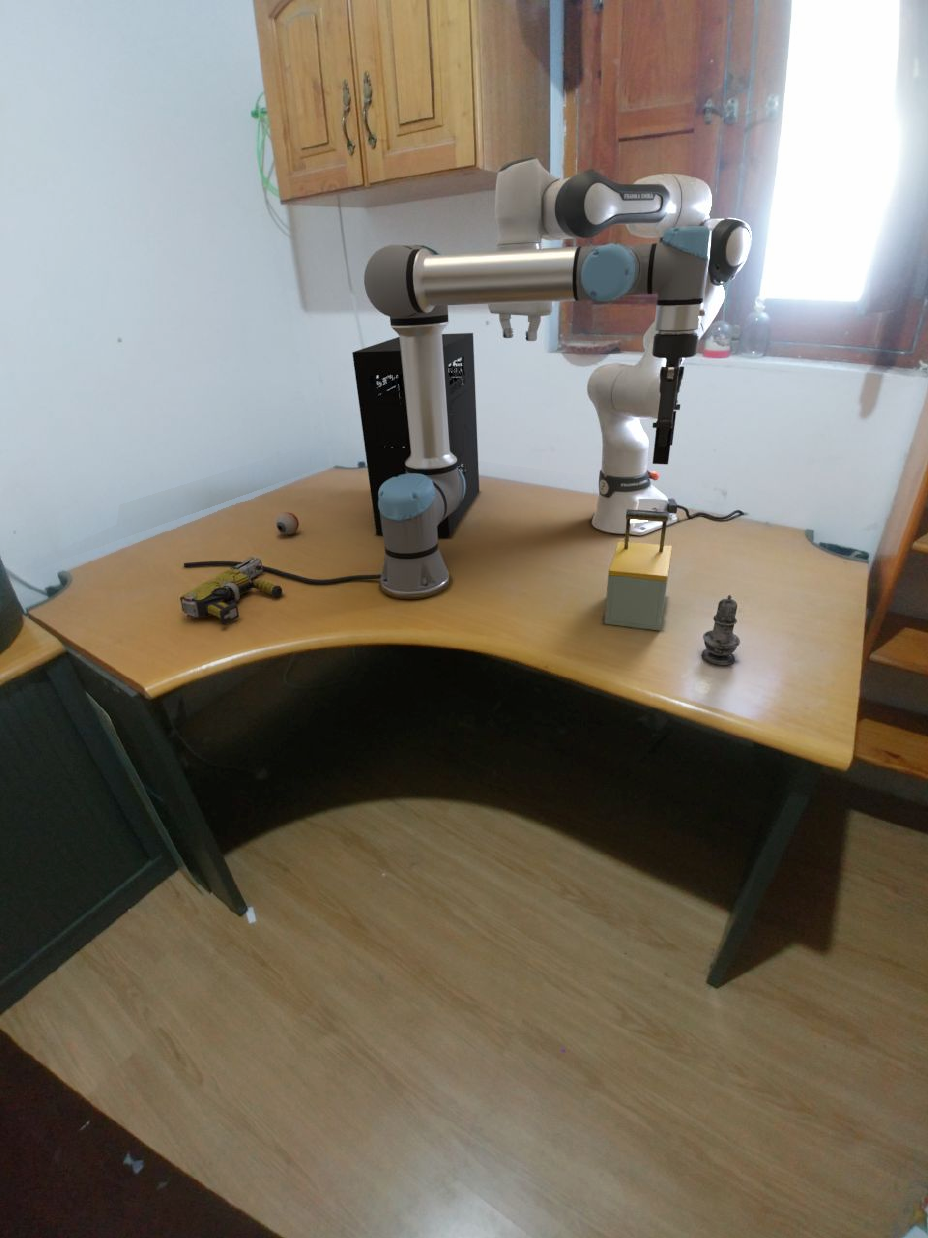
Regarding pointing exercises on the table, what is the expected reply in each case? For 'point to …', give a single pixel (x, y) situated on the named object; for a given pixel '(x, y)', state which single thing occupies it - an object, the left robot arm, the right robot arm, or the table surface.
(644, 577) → the lid
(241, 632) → the table surface
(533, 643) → the table surface
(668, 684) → the table surface
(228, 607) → the yellow angle grinder
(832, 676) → the table surface
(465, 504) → the black computer tower
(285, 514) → the eyeball
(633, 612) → the chest
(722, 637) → the dark grey chess piece
